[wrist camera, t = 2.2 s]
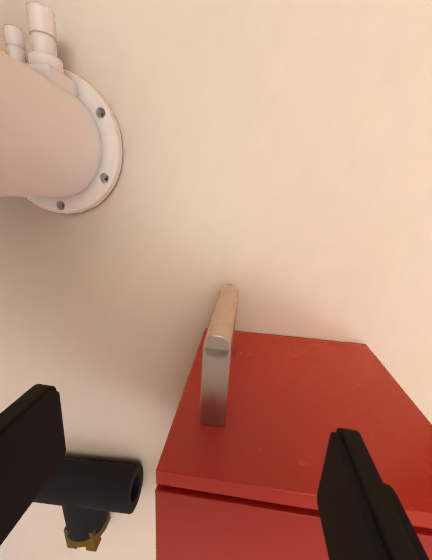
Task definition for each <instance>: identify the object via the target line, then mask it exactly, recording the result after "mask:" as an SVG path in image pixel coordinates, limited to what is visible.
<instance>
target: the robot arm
mask: <svg viewBox="0 0 432 560" xmlns="http://www.w3.org/2000/svg"><path fill="white" fill-rule="evenodd" d="M26 12H27V20H28V29H29V35H30V36H31V44H32V51H30V52H28V54H27V57H28V63H27V62H26V54H25V52H26V46H25V38H24V32H23V31H22V30H21V29H20V28H18V27H16V26H13V25H9V24H5V25H3V30H4V38H5V45H6V46H7V52H8V54H6V53H5V52H3V51H2V50H0V196H17V197H25V198H26V199H27V200H28V201H30V202H32V203H33V204H35V205H36V206H38V207H40V208H43V209H45V210H47V211H51V212H55V213H79V212H83V211H86V210H89V209H92V208H93V207H95V206H97V205H98V204H100V203H101V202H102V201H103V200H104V199H105V198H106V197H107V196H108V195H109V194H110V192H111V191H112V189H113V188H114V186H115V184H116V182H117V179H118V177H119V174H120V170H121V165H122V154H123V147H122V139H121V133H120V130H119V127H118V123H117V120H116V118H115V116H114V114H113V112H112V110H111V108H110V106H109V105H108V103H107V102H106V101H105V99H104V98H103V96H102V95H101V94H100V93H99V92H98V91H97V90H96V89H95V88H94V87H93V86H92V85H90V84H89V83H88V82H86V81H85V80H84V79H82V78H81V77H79V76H77V75H76V74H74V73H72V72H70V71H68V70H64V69H63V62H62V61H61V60H60V59H59V58H57V48H56V42H57V35H56V24H55V15H54V12H53V11H52V10H51V9H50V8H48V7H46V6H44V5H42V4H39V3H36V2H29V3H26ZM104 113H105V116H104V117H103V115H104ZM107 177H108V178H109V180H108V181H107ZM65 453H66V446H65V437H64V429H63V420H62V412H61V403H60V395H59V392H58V391H56V388H55V387H54V386H49V385H42V384H36V385H34V386H33V387H32V388H30V389H29V390H28V391H27V392H26V393H24V394H23V395H22V396H21V397H20V398H18V399H17V400H16V401H15V402H14V403H12V404H11V405H10V406H9V407H8V408H6V409H5V410H4V411H3V412H2V413H0V545H1V544H2V543H3V541H4V540H5V539H6V537H7V536H8V534H9V533H10V532H11V530H12V529H13V528H14V526H15V525H16V524H17V522H18V521H19V520H20V518H21V517H22V515H23V514H24V513H25V511H26V510H27V509H28V507H29V506H30V505H31V503H32V502H33V501H34V499H35V498H36V496H37V495H38V494H39V492H40V491H41V490H42V488H43V487H44V486H45V484H46V483H47V481H48V480H49V479H50V477H51V476H52V475H53V473H54V472H55V471H56V469H57V468H58V467H59V465H60V464H61V462H62V461H63V459H64V457H65ZM317 505H318V510H319V515H320V520H321V524H322V529H323V533H324V538H325V543H326V547H327V552H328V556H329V560H429V558H428V556H427V554H426V552H425V550H424V548H423V546H422V544H421V542H420V540H419V538H418V536H417V534H416V532H415V530H414V528H413V526H412V524H411V522H410V520H409V518H408V516H407V514H406V512H405V510H404V508H403V506H402V504H401V502H400V500H399V498H398V496H397V494H396V492H395V491H394V489H393V488H392V487H391V486H390V485H389V484H386V483H383V481H382V479H381V477H380V475H379V473H378V471H377V469H376V466H375V464H374V462H373V460H372V458H371V456H370V454H369V452H368V449H367V447H366V445H365V443H364V441H363V439H362V437H361V435H360V433H359V432H358V431H357V430H352V429H345V428H337V430H336V432H331V434H330V438H329V442H328V447H327V451H326V456H325V460H324V465H323V469H322V474H321V478H320V483H319V487H318V492H317Z"/></svg>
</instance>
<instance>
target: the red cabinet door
mask: <svg viewBox="0 0 432 560" xmlns="http://www.w3.org/2000/svg"><path fill="white" fill-rule="evenodd" d="M237 298H238V290H237V288H236V287H235V286H233V285H231V284H227V285H225V286H223V287H222V289H221V291H220V294H219V297H218V300H217V303H216V307H215V310H214V313H213V316H212V319H211V322H210V325H209V328H205V331H204V334H203V337H202V340H201V343H200V345H199V348H198V351H197V354H196V357H195V360H194V363H193V365H192V368H191V371H190V374H189V377H188V380H187V383H186V386H185V388H184V391H183V394H182V397H181V400H180V403H179V406H178V409H177V411H176V414H175V417H174V420H173V423H172V426H171V429H170V432H169V434H168V437H167V440H166V443H165V446H164V449H163V452H162V454H161V457H160V460H159V463H158V466H157V469H156V484H160V485H166V486H172V487H178V488H184V489H191V490H197V491H203V492H209V493H215V494H221V495H227V496H233V497H240V498H246V499H252V500H258V501H264V502H270V503H276V504H282V505H289V506H295V507H301V508H307V509H313V510H318V505H317V492H318V487H319V483H320V478H321V474H322V469H323V465H324V460H325V456H326V451H327V447H328V442H329V438H330V434H331V432H336V430H337V428H345V429H352V430H357V431H358V432H359V433H360V435H361V437H362V439H363V441H364V443H365V445H366V447H367V449H368V452H369V454H370V456H371V458H372V460H373V462H374V464H375V466H376V469H377V471H378V473H379V475H380V477H381V479H382V481H383V483H386V484H389V485H390V486H391V487H392V488H393V489H394V491H395V492H396V494H397V496H398V498H399V500H400V502H401V504H402V506H403V508H404V510H405V512H406V514H407V516H408V518H409V520H410V522H411V524H412V526H417V527H423V528H429V529H432V425H431V423H430V422H429V421H428V420H427V418H426V417H425V416H424V415H423V414H422V412H421V411H420V410H419V409H418V407H417V406H416V405H415V404H414V403H413V401H412V400H411V399H410V398H409V396H408V395H407V394H406V393H405V392H404V390H403V389H402V388H401V387H400V385H399V384H398V383H397V382H396V381H395V379H394V378H393V377H392V376H391V374H390V373H389V372H388V371H387V370H386V368H385V367H384V366H383V365H382V363H381V362H380V361H379V360H378V359H377V357H376V356H375V355H374V354H373V352H372V351H371V350H370V349H369V348H368V346H367V345H366V344H356V343H347V342H337V341H327V340H318V339H308V338H298V337H288V336H279V335H269V334H259V333H250V332H240V331H235V322H236V310H237Z"/></svg>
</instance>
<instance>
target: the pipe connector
mask: <svg viewBox="0 0 432 560" xmlns="http://www.w3.org/2000/svg"><path fill="white" fill-rule="evenodd" d="M142 482H143V468H142V466H141V465H136V464H126V463H116V462H106V461H96V460H86V459H76V458H66V457H64V459H63V461H62V462H61V464H60V465H59V467H58V468H57V469H56V471H55V472H54V473H53V475H52V476H51V477H50V479H49V480H48V481H47V483H46V484H45V486H44V487H43V488H42V490H41V491H40V492H39V494H38V495H37V496H36V498H35V499H34V501H33V502H37V503H45V504H53V505H61V506H62V508H63V513H64V518H65V522H66V527H65V529H64V533H65V538H66V543H67V547H68V548H74V549H77V548H78V547H85V546H86V550H88V551H95V552H96V550H97V548H98V545H99V543H100V541H101V535H102V534H103V532H104V531H105V529H106V528H107V525H108V523H109V521H110V519H111V517H110V512H118V513H126V514H131V513H132V512H133V511H134V509H135V507H136V505H137V502H138V500H139V496H140V492H141V488H142Z"/></svg>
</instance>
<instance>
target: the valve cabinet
mask: <svg viewBox="0 0 432 560" xmlns="http://www.w3.org/2000/svg"><path fill="white" fill-rule="evenodd" d="M155 496H156V560H329V556H328V552H327V547H326V543H325V538H324V533H323V529H322V524H321V520H320V515H319V510H313V509H307V508H301V507H295V506H289V505H282V504H276V503H270V502H264V501H258V500H252V499H246V498H240V497H233V496H227V495H221V494H215V493H209V492H203V491H197V490H191V489H184V488H178V487H172V486H166V485H160V484H157V487H156V490H155ZM413 528H414V530H415V532H416V534H417V536H418V538H419V540H420V542H421V544H422V546H423V548H424V550H425V552H426V554H427V556H428V558H429V560H432V529H429V528H423V527H417V526H413Z"/></svg>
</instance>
